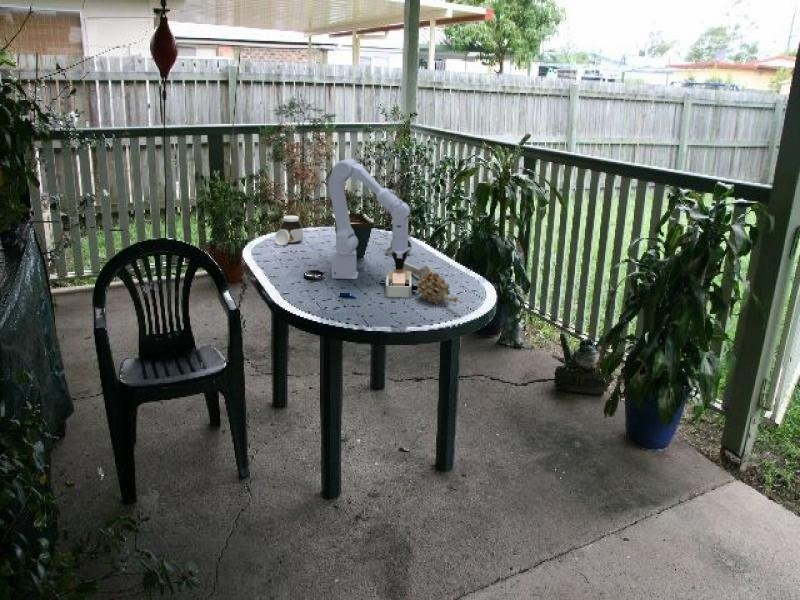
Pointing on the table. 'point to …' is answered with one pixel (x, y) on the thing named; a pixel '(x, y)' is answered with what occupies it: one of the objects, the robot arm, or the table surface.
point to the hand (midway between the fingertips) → (399, 271)
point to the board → (408, 273)
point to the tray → (398, 289)
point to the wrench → (418, 269)
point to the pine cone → (434, 288)
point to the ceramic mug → (393, 251)
